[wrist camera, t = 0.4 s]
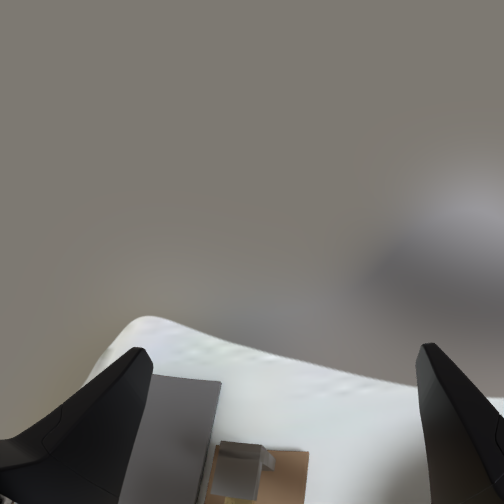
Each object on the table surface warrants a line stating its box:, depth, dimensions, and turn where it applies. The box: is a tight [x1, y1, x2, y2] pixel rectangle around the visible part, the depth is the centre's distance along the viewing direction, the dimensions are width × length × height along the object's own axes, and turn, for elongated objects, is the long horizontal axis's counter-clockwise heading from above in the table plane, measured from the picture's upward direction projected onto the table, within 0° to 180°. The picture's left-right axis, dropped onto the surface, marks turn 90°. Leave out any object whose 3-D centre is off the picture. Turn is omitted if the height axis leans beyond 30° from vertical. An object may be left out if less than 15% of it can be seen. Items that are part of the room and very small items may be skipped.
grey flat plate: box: [118, 374, 222, 504], centre depth 21 cm, size 14×10×1 cm
